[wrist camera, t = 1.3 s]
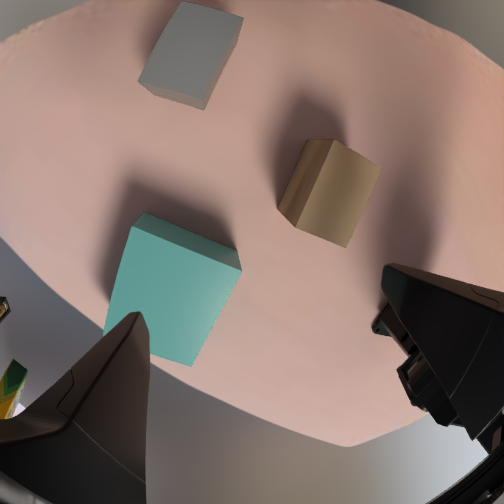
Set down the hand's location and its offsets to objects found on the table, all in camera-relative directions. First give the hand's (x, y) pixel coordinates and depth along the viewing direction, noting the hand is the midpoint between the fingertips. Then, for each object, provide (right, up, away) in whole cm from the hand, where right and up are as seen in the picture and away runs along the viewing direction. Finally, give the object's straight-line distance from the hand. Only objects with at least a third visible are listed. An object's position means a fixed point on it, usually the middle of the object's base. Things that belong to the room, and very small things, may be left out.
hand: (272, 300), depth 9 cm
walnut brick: (+4, +7, +12) cm, 14 cm away
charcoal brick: (-5, +15, +7) cm, 17 cm away
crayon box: (-34, -16, +16) cm, 41 cm away
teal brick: (-8, -1, +13) cm, 16 cm away
